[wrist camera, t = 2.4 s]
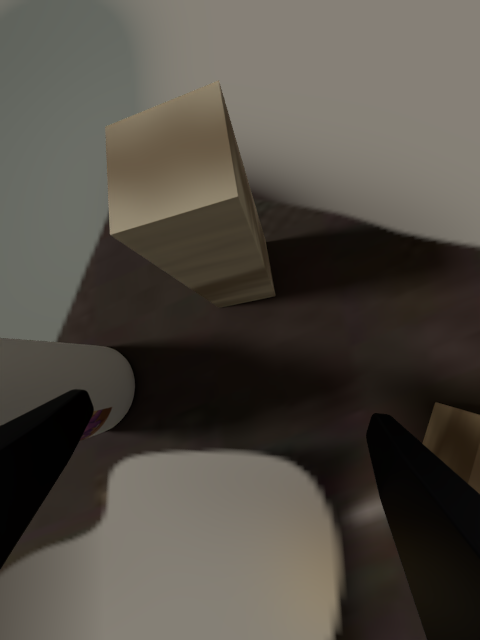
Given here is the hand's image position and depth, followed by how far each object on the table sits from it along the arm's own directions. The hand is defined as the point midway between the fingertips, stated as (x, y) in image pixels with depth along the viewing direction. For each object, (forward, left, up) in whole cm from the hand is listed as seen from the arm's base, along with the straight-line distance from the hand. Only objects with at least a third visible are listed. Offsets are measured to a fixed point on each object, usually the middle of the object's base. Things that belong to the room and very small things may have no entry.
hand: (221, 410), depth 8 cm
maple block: (+6, +7, -12) cm, 16 cm away
